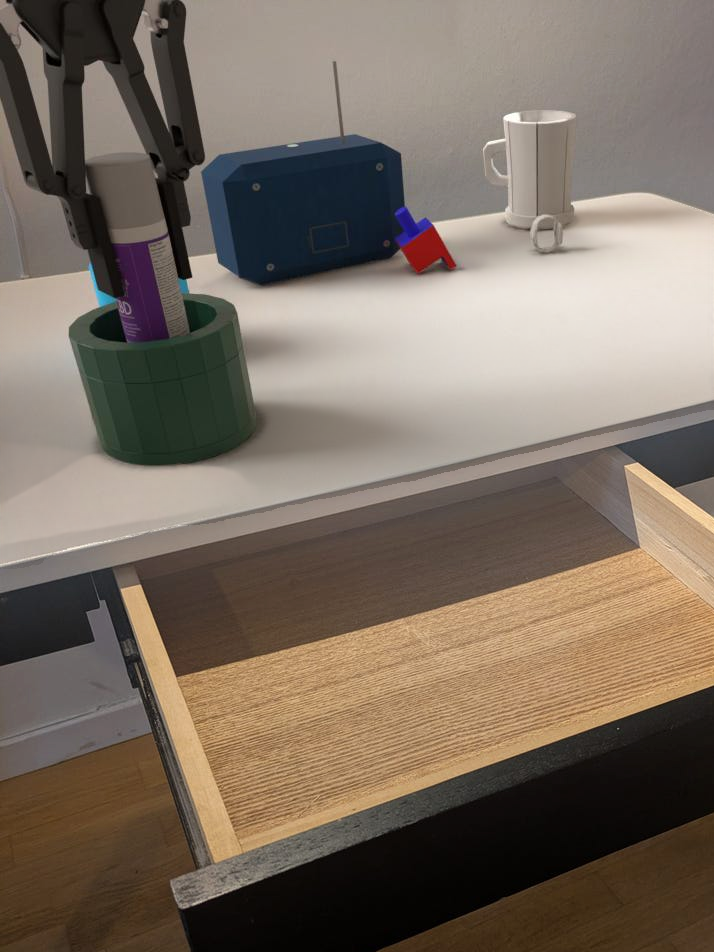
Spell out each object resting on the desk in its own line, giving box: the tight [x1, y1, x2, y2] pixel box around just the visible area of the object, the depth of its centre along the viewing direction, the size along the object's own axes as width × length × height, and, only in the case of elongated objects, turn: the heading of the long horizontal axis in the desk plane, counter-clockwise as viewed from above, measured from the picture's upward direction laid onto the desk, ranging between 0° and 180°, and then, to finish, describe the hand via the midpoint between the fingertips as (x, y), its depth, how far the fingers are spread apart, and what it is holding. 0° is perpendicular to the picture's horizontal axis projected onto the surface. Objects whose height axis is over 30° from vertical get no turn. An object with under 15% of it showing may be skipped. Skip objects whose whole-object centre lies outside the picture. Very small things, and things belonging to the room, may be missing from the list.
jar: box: [68, 292, 258, 467], centre depth 76 cm, size 12×12×9 cm
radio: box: [200, 60, 406, 286], centre depth 107 cm, size 21×9×20 cm, turn 123°
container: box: [85, 151, 190, 343], centre depth 71 cm, size 5×5×15 cm
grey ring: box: [529, 215, 564, 254], centre depth 113 cm, size 4×2×4 cm, turn 103°
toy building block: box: [395, 206, 457, 275], centre depth 109 cm, size 4×4×8 cm
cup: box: [482, 109, 577, 231], centre depth 121 cm, size 10×9×12 cm
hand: (145, 283), depth 71 cm, fingers closed on container, 5 cm apart
